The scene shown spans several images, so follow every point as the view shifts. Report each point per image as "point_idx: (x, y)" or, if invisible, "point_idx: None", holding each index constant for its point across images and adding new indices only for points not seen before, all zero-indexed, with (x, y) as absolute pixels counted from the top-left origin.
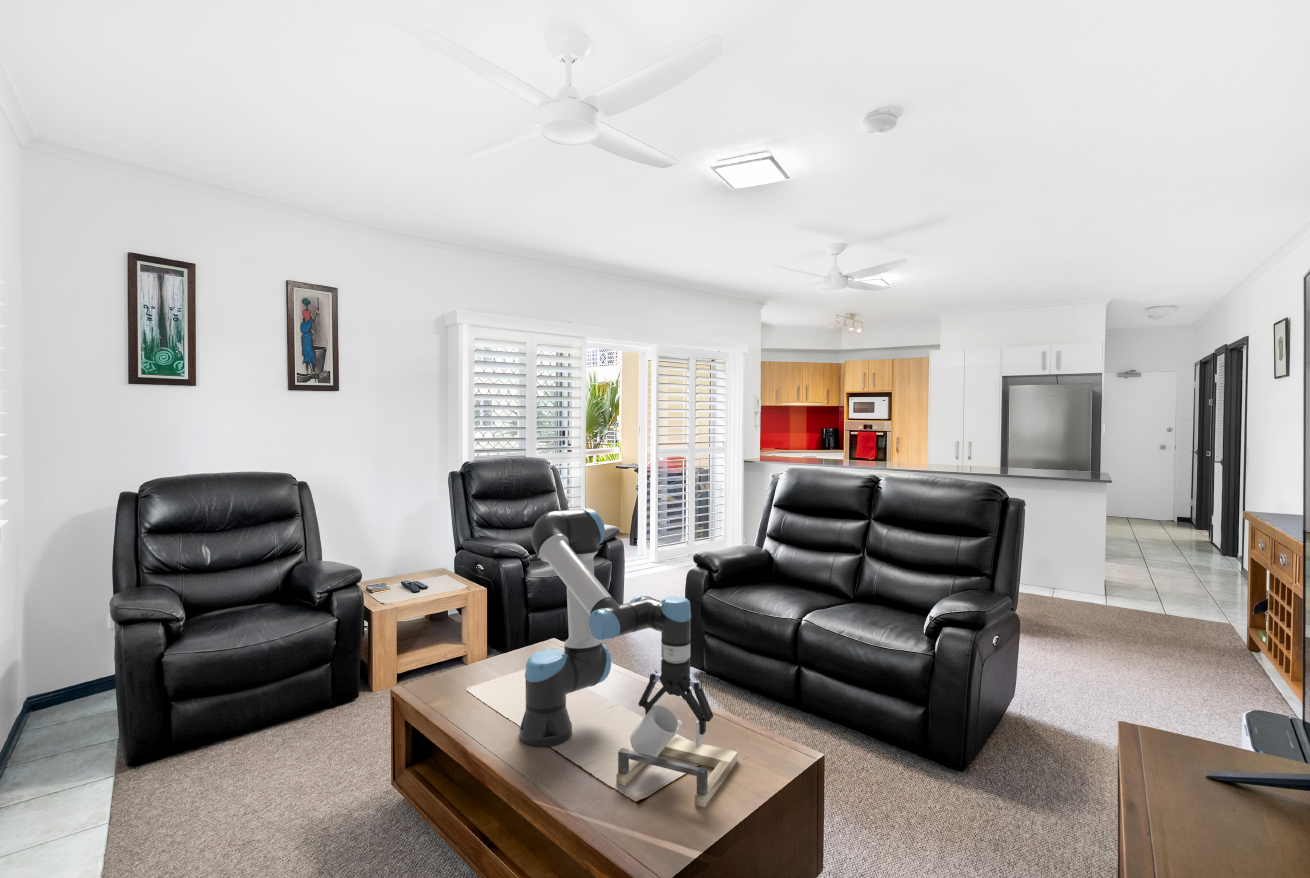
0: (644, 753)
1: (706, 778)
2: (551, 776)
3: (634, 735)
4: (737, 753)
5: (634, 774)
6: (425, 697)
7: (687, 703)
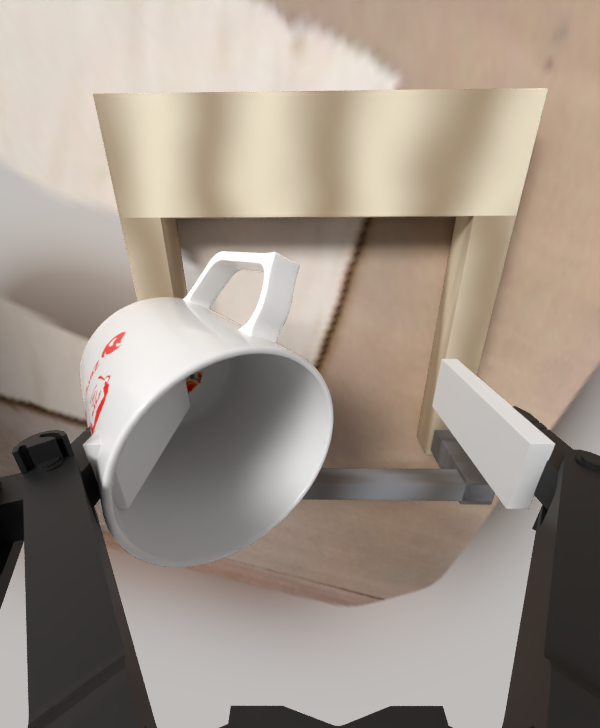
0: (211, 425)
1: None
2: (19, 470)
3: None
4: (542, 94)
5: None
6: None
7: (513, 671)
